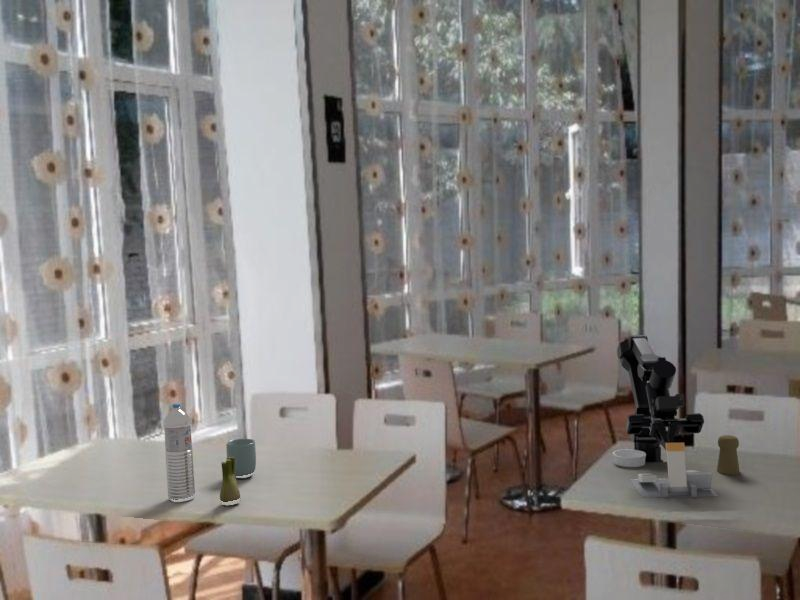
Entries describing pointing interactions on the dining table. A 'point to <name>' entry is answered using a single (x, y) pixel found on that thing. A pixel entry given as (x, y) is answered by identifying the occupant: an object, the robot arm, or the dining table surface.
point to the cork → (728, 455)
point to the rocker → (647, 477)
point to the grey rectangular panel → (699, 479)
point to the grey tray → (662, 489)
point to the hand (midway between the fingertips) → (670, 452)
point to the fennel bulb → (229, 481)
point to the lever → (676, 468)
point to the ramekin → (629, 458)
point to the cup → (242, 455)
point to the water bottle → (179, 454)
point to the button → (691, 471)
